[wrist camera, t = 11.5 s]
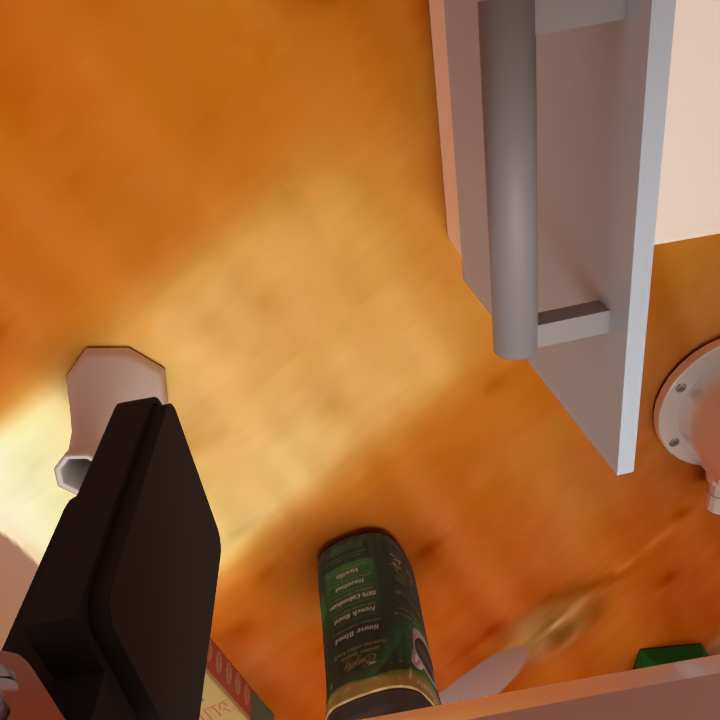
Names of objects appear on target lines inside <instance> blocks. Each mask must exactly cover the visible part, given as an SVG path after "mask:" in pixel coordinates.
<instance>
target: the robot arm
mask: <svg viewBox="0 0 720 720" xmlns="http://www.w3.org/2000/svg"><path fill="white" fill-rule="evenodd" d="M654 427H655V431H656V435H657V436H658V438H659V440H660V441H661V443H662V444H663V445H664V447H665V448H666V449H667V450H668V451H669V452H670V453H671V454H672V455H674V456H675V457H676V458H678V459H679V460H682V461H684V462H687V463H690V464H695V465H700V466H702V467H703V469H704V470H705V471H706V476H705V477H706V479H707V481H708V482H709V487H708V488H707V492H706V498H705V507H706V509H707V510H708V511H710V512H712V513H714V514H719V515H720V339H718V340H715V341H713V342H711V343H709V344H707V345H705V346H704V347H702V348H700V349H699V350H697V351H696V352H694V353H693V354H691V355H690V356H689V357H688V358H687V359H685V360H684V361H683V362H682V363H681V364H680V365H679V366H678V367H677V368H676V369H675V370H674V371H673V373H672V374H671V375H670V376H669V378H668V379H667V381H666V382H665V384H664V385H663V387H662V388H661V391H660V393H659V395H658V398H657V400H656V404H655V408H654ZM220 554H221V544H220V536H219V532H218V528H217V526H216V523H215V520H214V517H213V514H212V511H211V509H210V506H209V503H208V500H207V497H206V495H205V492H204V489H203V486H202V483H201V480H200V478H199V475H198V472H197V469H196V466H195V464H194V461H193V458H192V455H191V452H190V449H189V447H188V444H187V441H186V438H185V435H184V432H183V430H182V427H181V424H180V421H179V418H178V416H177V413H176V410H175V408H174V407H173V405H172V404H164V405H162V403H161V402H160V400H159V399H158V398H157V397H150V398H144V399H138V400H133V401H127V402H121V403H118V404H117V405H116V406H115V408H114V411H113V413H112V415H111V418H110V420H109V422H108V425H107V427H106V429H105V431H104V434H103V436H102V438H101V441H100V443H99V445H98V448H97V450H96V452H95V455H94V457H93V459H92V462H91V464H90V466H89V469H88V471H87V473H86V476H85V478H84V480H83V482H82V485H81V487H80V489H79V492H78V494H77V496H76V497H74V498H73V499H71V500H70V501H69V502H68V504H67V505H66V507H65V509H64V511H63V513H62V516H61V518H60V520H59V522H58V525H57V527H56V529H55V531H54V534H53V536H52V538H51V540H50V543H49V545H48V547H47V549H46V552H45V554H44V556H43V558H42V561H41V563H40V565H39V567H38V570H37V572H36V574H35V576H34V579H33V581H32V583H31V585H30V588H29V590H28V592H27V594H26V597H25V599H24V601H23V603H22V606H21V608H20V610H19V613H18V615H17V617H16V619H15V621H14V624H13V626H12V628H11V630H10V633H9V635H8V637H7V639H6V642H5V644H4V646H3V648H2V651H0V720H199V718H200V710H201V702H202V694H203V687H204V679H205V671H206V663H207V656H208V648H209V640H210V632H211V625H212V617H213V609H214V601H215V594H216V586H217V578H218V570H219V563H220ZM361 720H720V654H718V655H713V656H707V657H702V658H696V659H690V660H685V661H679V662H674V663H668V664H662V665H657V666H651V667H646V668H640V669H634V670H629V671H623V672H618V673H612V674H607V675H601V676H595V677H590V678H584V679H579V680H573V681H567V682H562V683H557V684H551V685H546V686H540V687H535V688H529V689H524V690H518V691H513V692H508V693H502V694H497V695H491V696H487V697H480V698H475V699H470V700H464V701H459V702H453V703H448V704H442V705H437V706H431V707H426V708H421V709H415V710H410V711H404V712H399V713H393V714H388V715H382V716H377V717H372V718H366V719H361Z"/></svg>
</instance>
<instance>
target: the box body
mask: <svg viewBox="0 0 720 720" xmlns="http://www.w3.org/2000/svg"><path fill="white" fill-rule="evenodd" d="M429 9H430V21H431V34H432V46H433V58H434V71H435V83H436V95H437V108H438V120H439V132H440V145H441V157H442V170H443V182H444V194H445V207H446V219H447V231H448V238H449V240H450V241H451V243H452V244H453V246H454V247H455V249H456V250H457V252H458V253H459V255H460V256H461V258H462V253H461V239H460V225H459V211H458V197H457V183H456V168H455V154H454V140H453V126H452V112H451V98H450V84H449V69H448V55H447V41H446V27H445V13H444V0H429ZM719 233H720V0H676V8H675V19H674V30H673V41H672V52H671V63H670V74H669V85H668V96H667V107H666V118H665V129H664V140H663V151H662V163H661V174H660V185H659V196H658V207H657V218H656V229H655V240H654V245H657V244H662V243H668V242H674V241H679V240H685V239H690V238H696V237H702V236H707V235H713V234H719Z"/></svg>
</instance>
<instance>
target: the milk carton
mask: <svg viewBox="0 0 720 720" xmlns="http://www.w3.org/2000/svg"><path fill="white" fill-rule="evenodd" d="M707 656H708V655H707V653H706V651H705V650H704V648H703V646H702V644H693V645H683V646H672V647H662V648H652V649H642V650H640V651H639V654H638V657H637V660H636V663H635V666H634V669H640V668H646V667H651V666H657V665H662V664H668V663H674V662H679V661H685V660H690V659H696V658H702V657H707Z"/></svg>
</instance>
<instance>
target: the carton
mask: <svg viewBox="0 0 720 720" xmlns="http://www.w3.org/2000/svg"><path fill="white" fill-rule="evenodd" d="M199 720H274V714H273V713H272V712H271V711H270V709H269V708H268V707H267V706H266V705H265V704H264V703H263V701H262V700H261V699H260V698H259V697H258V695H257V694H256V693H255V692H254V691H253V689H252V688H251V687H250V686H249V684H248V683H247V682H246V681H245V679H244V678H243V677H242V676H241V675H240V673H239V672H238V671H237V670H236V668H235V667H234V666H233V665H232V664H231V662H230V661H229V660H228V659H227V658H226V656H225V655H224V654H223V653H222V651H221V650H220V649H219V648H218V647H217V645H216V644H215V643H214V642H213V641H212V639H211V638H210V640H209V648H208V656H207V663H206V671H205V679H204V687H203V694H202V702H201V710H200V718H199Z"/></svg>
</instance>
